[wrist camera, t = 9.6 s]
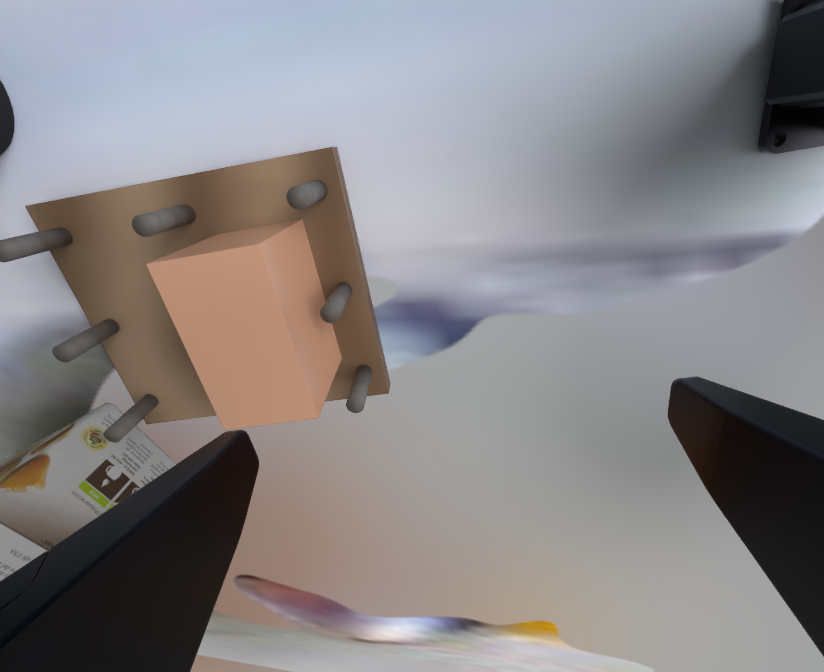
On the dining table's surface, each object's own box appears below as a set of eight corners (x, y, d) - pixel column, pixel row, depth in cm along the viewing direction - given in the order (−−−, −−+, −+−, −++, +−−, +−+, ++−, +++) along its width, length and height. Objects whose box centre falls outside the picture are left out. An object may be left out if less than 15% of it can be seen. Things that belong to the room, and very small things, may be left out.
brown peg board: (336, 147, 17) (313, 147, 13) (390, 383, 22) (383, 429, 18) (44, 203, 18) (-49, 216, 15) (157, 413, 23) (108, 462, 20)
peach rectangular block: (302, 219, 17) (259, 244, 13) (341, 357, 20) (317, 418, 16) (216, 234, 18) (146, 263, 13) (267, 368, 21) (223, 430, 16)
